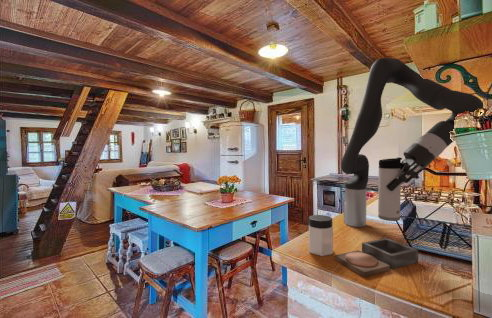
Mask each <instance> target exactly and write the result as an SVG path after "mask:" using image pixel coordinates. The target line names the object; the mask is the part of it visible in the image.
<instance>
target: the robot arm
mask: <svg viewBox="0 0 492 318" xmlns="http://www.w3.org/2000/svg"><path fill="white" fill-rule="evenodd" d="M420 75H421V74H420V73H418V72H417V71H415V70H414V69H412V67H409V66H408V65H407V64H405V63H404V62H402V61H401V60H400V59H398V58H396V57H395V58H393V57H392V58H391V57H381V58H378V59H376V60H375V61H374V62H373V64H372V65H371V67H370V69H369V73H368V78H367V83H366V87H365V92H364V96H363V99H362V102H361V105H360V109H359V112H358V115H357V118H356V121H355V124H354V127H353V131H352V134H351V136H350V140H349V142H348V145H347V147H346V149H345V151H344V154H343V157H342V159H341V163H340V168H341V171H342V172H343V174H345V175H353V176H352V177H351V179H349V180H346V181H345V183H344V200H345V201H344V203H343V223H344V224H345V225H346V226H350V227H356V228H363V227H366V226H367V185H368V184H369V172H370V163H369V159H368V156H366V155H365V154H363V153H361V154H360V152H361V150H362V149H363V148H364V146H366V144H367V143H368V142H369V141H370V140H371V139H372V138H373V137H374V136H375V135H376V133H377V131H378V129H379V127H380V124H381V121H382V118H383V106H382V96H383V92H384V89H385V87H386V86H387V84H395V85H397V86H401V87H403V88H405V89H406V90H408V91H409V92H410V93H411V94H412V96H414V97H415V98H416V99H417V100H419V101H420V102H422V103H424V104H425V105H427V106H429V107H431V108H433V109H434V110H438V111H442V110H445V109H446V110H449V111H450V112H451V116H449V118H447V119H446V120H441V121H438V122H436V124H434V125H433V126H432V127H431V128H430V129H429V130H427V132H425V133H424V134H423V135H421V136H420V137H419V138H418V139H416V141H414V143H412V144H411V145H410V146H409V147H408V148H407V149H406V150H405V151H403V157H404V159H402V160H401V165H400V166H401V168H400V170H399V171H398V175H397V176H396V179H395V178H394V179H393V180H392V181H391V182H390V183H389V184H388V185H387V186H386V187H387V188H388V189H389V190H390V191H393V190H394V189H395V188H396V187H398V186H399V185H400V184H404V183H405V184H408V183H409V182H410V181H411V180H413V179H414V178H416V176H418V175H419V174H420V173H421V172H422V171H423V169H425V168H427V167H428V166H429V165H431V163H432V162H433V161H435V160H436V159H437V158H438V157H439V156H440V155H441V154H443V152H444V151H445V150H446V149H447V148H448V147H449V146H450V145H451V144H452V143H454V141H452V140H451V139H450V133H449V132H450V131H453V129H454V120H455V117H456V116H457V114H458V113H463V112H465V111H469V112H474V111H475V110H477V109H478V108H483V109H484V102H483V101H482V100H481V98H479V97H478V96H476V95H474V94H472V93H468V92H463V91H458V90H452V89H450V88H449V87H446V86H444V85H443V84H441V83H438V82H436V81H434V80H432V79H430V80H429V78H428V79H423V78H422V77H421V76H420ZM481 113H482V114H483V112H480V114H481Z"/></svg>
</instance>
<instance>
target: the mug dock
mask: <svg viewBox="0 0 492 318" xmlns="http://www.w3.org/2000/svg"><path fill="white" fill-rule="evenodd" d="M334 260H335V261H336V262H338V263H340V265H341V264H342V265H343V266H344V267H346V268H348V269H349V270H351V271H353V272H354V273H356V274H358V275H360V276H362V277H363V278H367V277H370V276H371V277H372V276H375V275H377V274H382V273H386V272H390V271H391V270H393V269H398V268H402V267H405V266H409V265H414V264H418V263H419V250H418V249H416V248H414V247H412V246H409V245H406V244H403V243H400V242H398V241H395V240H393V239H390V238H387V237H384V238H379V239H374V240H370V241H365V242H362V243H361V250H359V249H358V250H354V251H350V252H344V253H340V254H335V255H334Z"/></svg>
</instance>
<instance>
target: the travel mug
mask: <svg viewBox="0 0 492 318" xmlns="http://www.w3.org/2000/svg"><path fill="white" fill-rule="evenodd" d="M401 161H403V158H402V157H396V158H395V157H394V158H383V159H379V161H378V182H377V183H378V185H377V186H378V189H377V190H378V191H377V192H378V193H377V195H378V198H377V199H378V200H377V201H378V202H377V203H378V204H377V205H378V206H377V207H378V208H377V209H378V215H377V217H378V218H379V219H380V220H382V221H388V222H397V221H400V220H401V188H402V187H401V186H402V185H401V184H400V185H399V186H398V187H396V188H395V189H394V190H393V191H390V190H389V189H388V188H387V187H386V186H387V185H388V184H389V183H390V182H391V181H392V180H393V179H394V178H395V179H396V176H397V175H398V171H399V170H400V168H401V166H400V165H401Z"/></svg>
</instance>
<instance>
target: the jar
mask: <svg viewBox="0 0 492 318" xmlns="http://www.w3.org/2000/svg"><path fill="white" fill-rule="evenodd" d="M307 222H308V250H309V253H310V254H312V255H317V256H320V257H325V256H330V255H333V254H334V247H333V246H334V227H333V218H332V217H331V216H329V215H325V214H313V215H309V216H308V221H307Z"/></svg>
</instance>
